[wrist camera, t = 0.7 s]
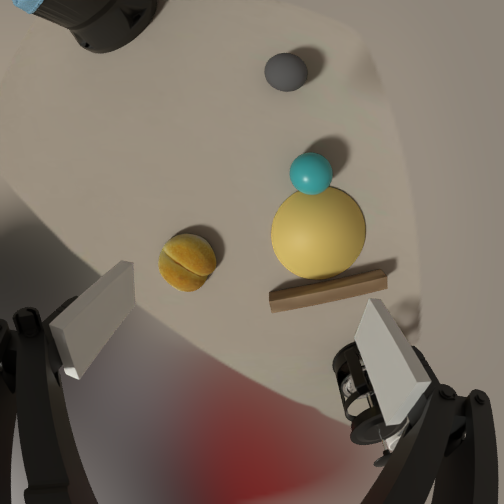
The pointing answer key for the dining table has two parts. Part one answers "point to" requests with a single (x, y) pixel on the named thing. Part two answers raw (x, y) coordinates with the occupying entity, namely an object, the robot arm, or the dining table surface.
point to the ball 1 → (286, 72)
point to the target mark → (318, 233)
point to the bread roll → (186, 262)
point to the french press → (359, 386)
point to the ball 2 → (311, 173)
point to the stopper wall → (327, 291)
